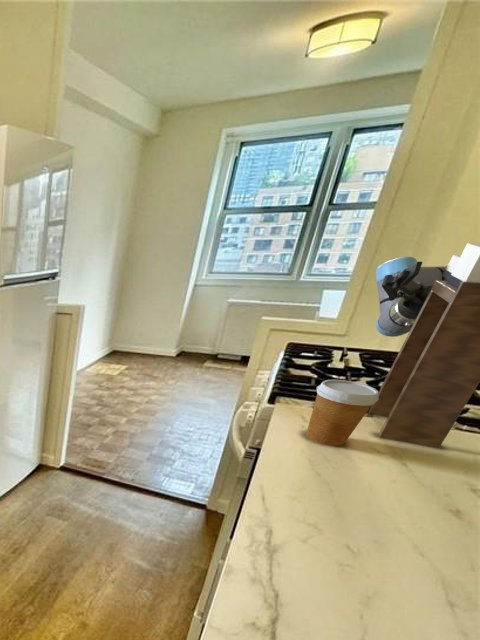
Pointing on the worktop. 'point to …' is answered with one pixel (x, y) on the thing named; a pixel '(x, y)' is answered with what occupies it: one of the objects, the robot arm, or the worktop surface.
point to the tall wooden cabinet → (433, 368)
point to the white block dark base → (464, 266)
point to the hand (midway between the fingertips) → (463, 269)
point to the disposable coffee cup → (339, 410)
